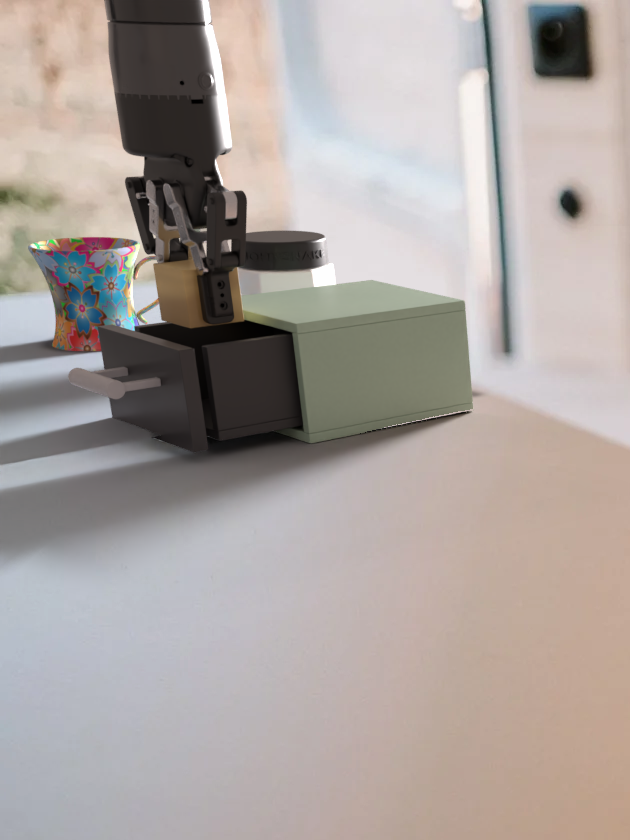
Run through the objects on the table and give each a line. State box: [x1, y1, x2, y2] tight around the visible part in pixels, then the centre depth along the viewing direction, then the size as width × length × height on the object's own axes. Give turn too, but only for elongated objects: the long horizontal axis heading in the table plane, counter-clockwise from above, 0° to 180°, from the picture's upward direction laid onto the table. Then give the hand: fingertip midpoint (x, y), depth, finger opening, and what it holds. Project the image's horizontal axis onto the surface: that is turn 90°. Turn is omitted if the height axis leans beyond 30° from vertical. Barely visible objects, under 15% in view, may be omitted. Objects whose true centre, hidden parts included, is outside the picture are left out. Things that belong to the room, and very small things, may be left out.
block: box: [152, 260, 244, 328], centre depth 125 cm, size 4×4×4 cm
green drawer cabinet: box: [241, 279, 474, 444], centre depth 136 cm, size 16×14×10 cm
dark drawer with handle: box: [67, 320, 303, 454], centre depth 128 cm, size 19×12×8 cm, turn 142°
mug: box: [27, 236, 159, 352], centre depth 153 cm, size 12×9×11 cm
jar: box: [237, 230, 337, 296], centre depth 152 cm, size 9×8×12 cm
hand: (202, 317), depth 126 cm, fingers closed on block, 4 cm apart
